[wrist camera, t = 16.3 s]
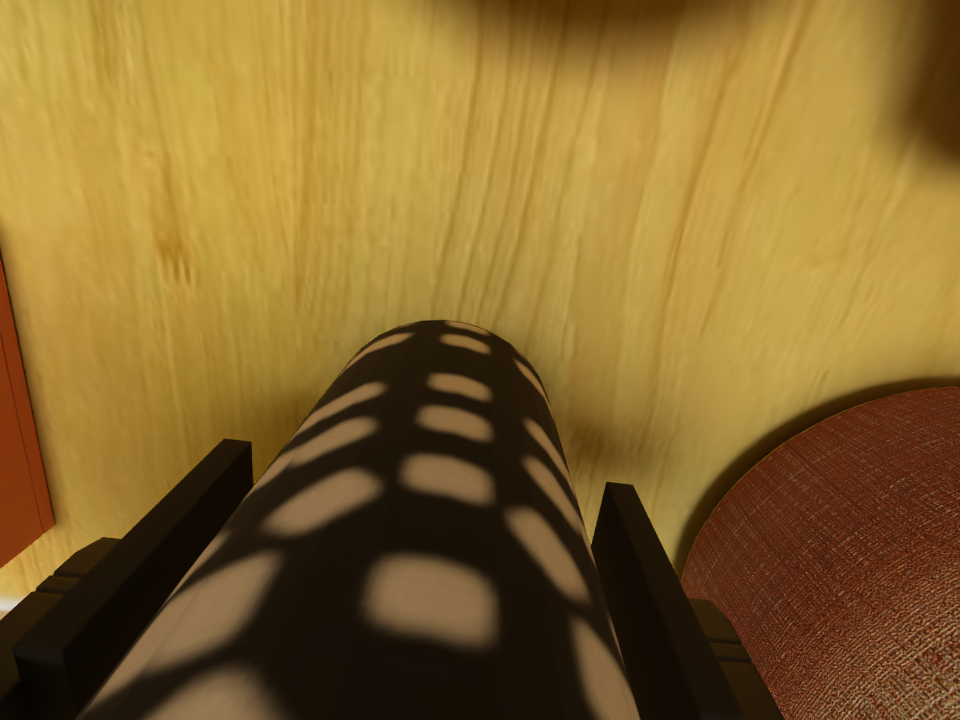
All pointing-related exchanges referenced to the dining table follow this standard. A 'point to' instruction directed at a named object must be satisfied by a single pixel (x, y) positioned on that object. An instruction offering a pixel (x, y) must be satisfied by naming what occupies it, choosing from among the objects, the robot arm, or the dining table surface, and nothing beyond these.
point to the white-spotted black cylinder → (394, 562)
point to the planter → (847, 563)
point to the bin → (18, 449)
